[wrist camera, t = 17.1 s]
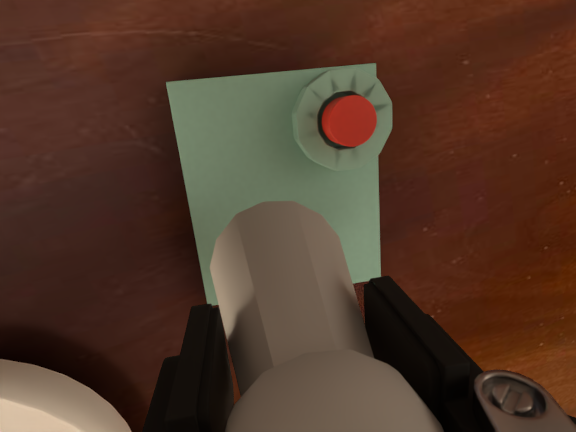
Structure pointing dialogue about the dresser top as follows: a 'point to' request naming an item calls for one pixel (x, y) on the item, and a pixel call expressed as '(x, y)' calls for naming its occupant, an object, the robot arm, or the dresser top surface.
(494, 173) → the dresser top surface
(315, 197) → the green flat block
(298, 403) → the salt shaker
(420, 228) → the dresser top surface
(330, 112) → the button
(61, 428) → the bowl
